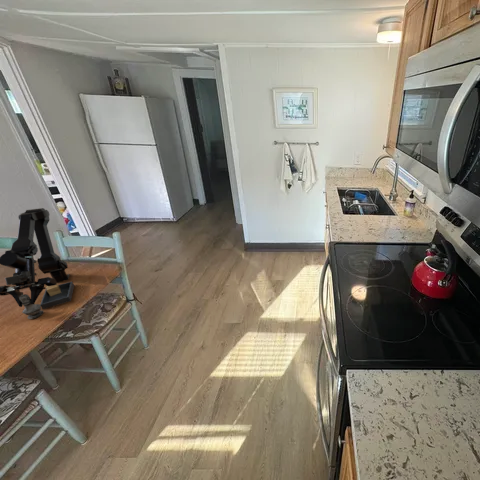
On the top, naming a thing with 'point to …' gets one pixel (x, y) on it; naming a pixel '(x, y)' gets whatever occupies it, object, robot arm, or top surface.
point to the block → (53, 290)
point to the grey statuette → (30, 307)
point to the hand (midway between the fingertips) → (26, 305)
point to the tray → (58, 296)
